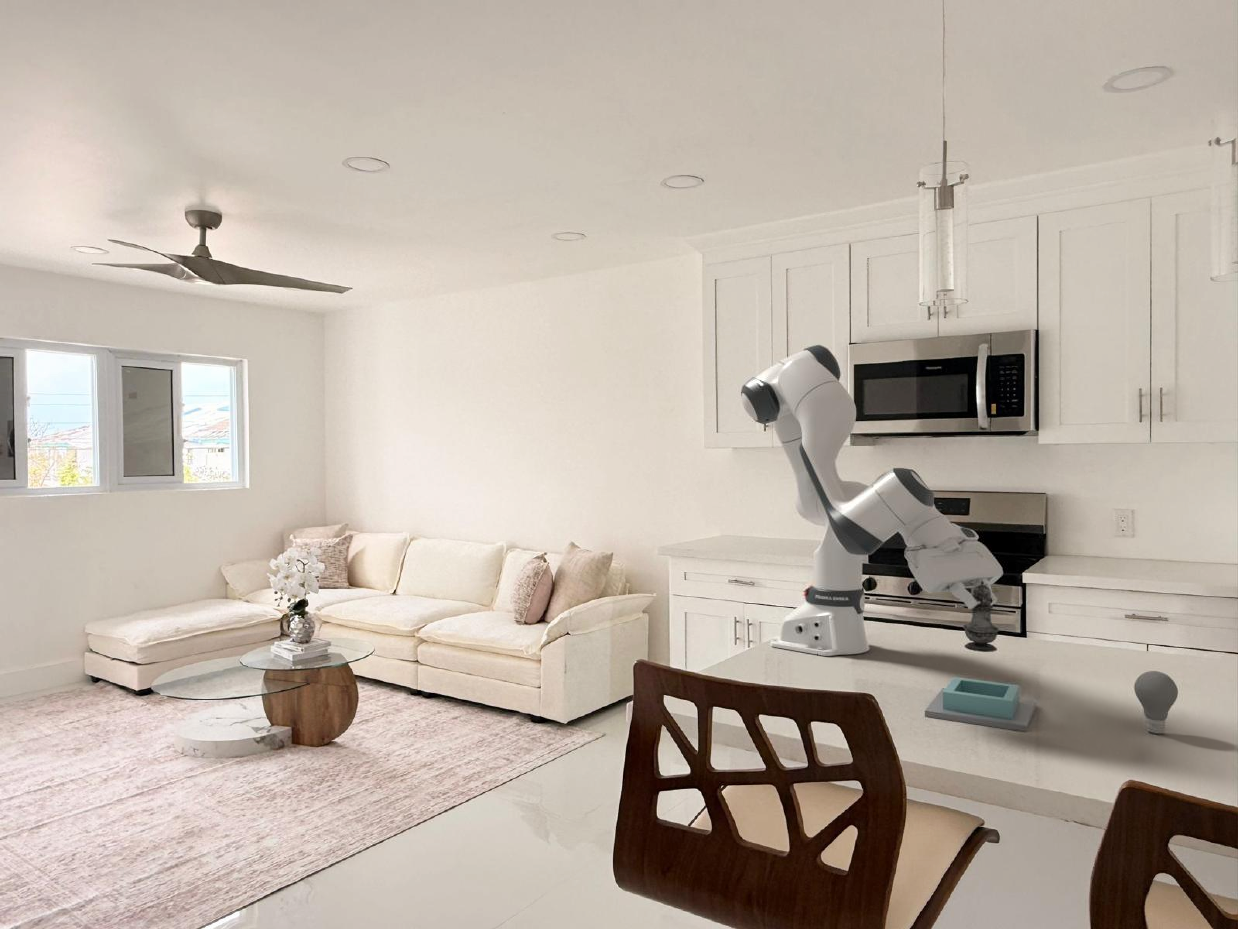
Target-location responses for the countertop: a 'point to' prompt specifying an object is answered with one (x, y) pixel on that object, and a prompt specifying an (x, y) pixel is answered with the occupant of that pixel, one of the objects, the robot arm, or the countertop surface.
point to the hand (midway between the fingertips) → (984, 605)
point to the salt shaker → (981, 623)
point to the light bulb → (1155, 698)
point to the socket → (982, 704)
